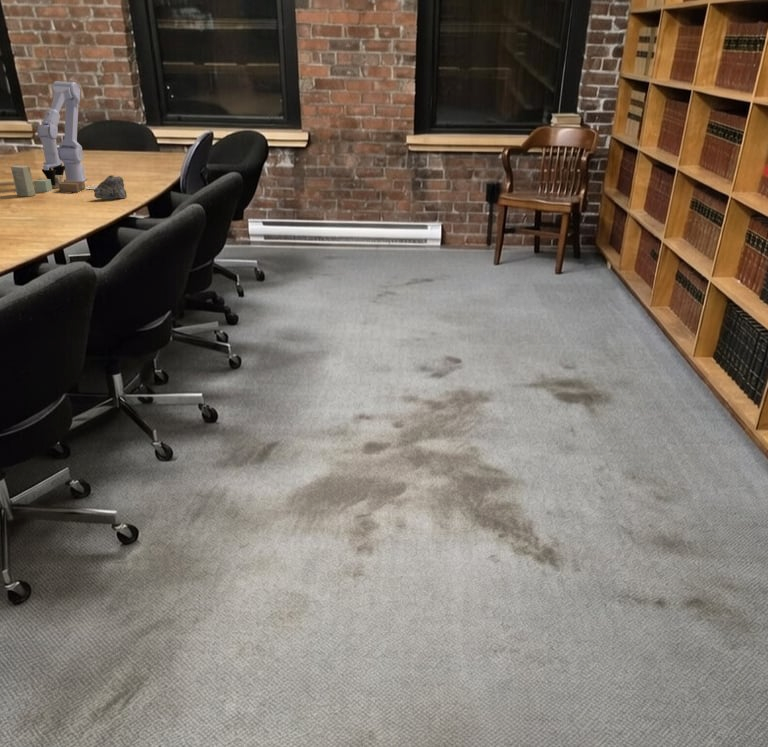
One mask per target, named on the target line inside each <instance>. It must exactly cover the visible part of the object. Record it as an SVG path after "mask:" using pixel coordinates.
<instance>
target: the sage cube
mask: <svg viewBox="0 0 768 747" xmlns="http://www.w3.org/2000/svg"><path fill="white" fill-rule="evenodd" d="M33 185H34V190H35V193H43V192H48V193H50V192H52V191H51V190H53V188H52V185H51V179H47V178H38V179H35V180H33ZM49 191H50V192H49Z"/></svg>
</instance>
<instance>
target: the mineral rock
mask: <svg viewBox="0 0 768 747" xmlns="http://www.w3.org/2000/svg"><path fill="white" fill-rule="evenodd" d="M97 185H98V187H97V188H95V189H94V190H93V192H94V196H93V197H95V198H96V199H98V200H99V199H100V200H109V199H111V200H114V199H126V198H127V196H128V195H127V191H126V189H125V183H124V179H123V177H122V176H114V175H112V174H110V175H108V176H107V177H106V178H105V179H104V180H103V181H101V182H100V183H99V184H97ZM125 197H126V198H125Z"/></svg>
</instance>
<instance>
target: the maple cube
mask: <svg viewBox="0 0 768 747" xmlns="http://www.w3.org/2000/svg"><path fill="white" fill-rule="evenodd" d="M64 181H65V178H64V174H63V175H55V186H52V187H56V188H55V189H59V183H61V182H64Z"/></svg>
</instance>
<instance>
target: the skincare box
mask: <svg viewBox="0 0 768 747" xmlns="http://www.w3.org/2000/svg"><path fill="white" fill-rule="evenodd" d="M10 170H11V174H12V178H13V183H14V188H15V192H16V195H17V196H18V197H19V196H20V197H32V196H35V195H36V190H35V185H34V180H33V177H32V172H31V167H30V166H29V165H19V164H18V165H13V166H10Z"/></svg>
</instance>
